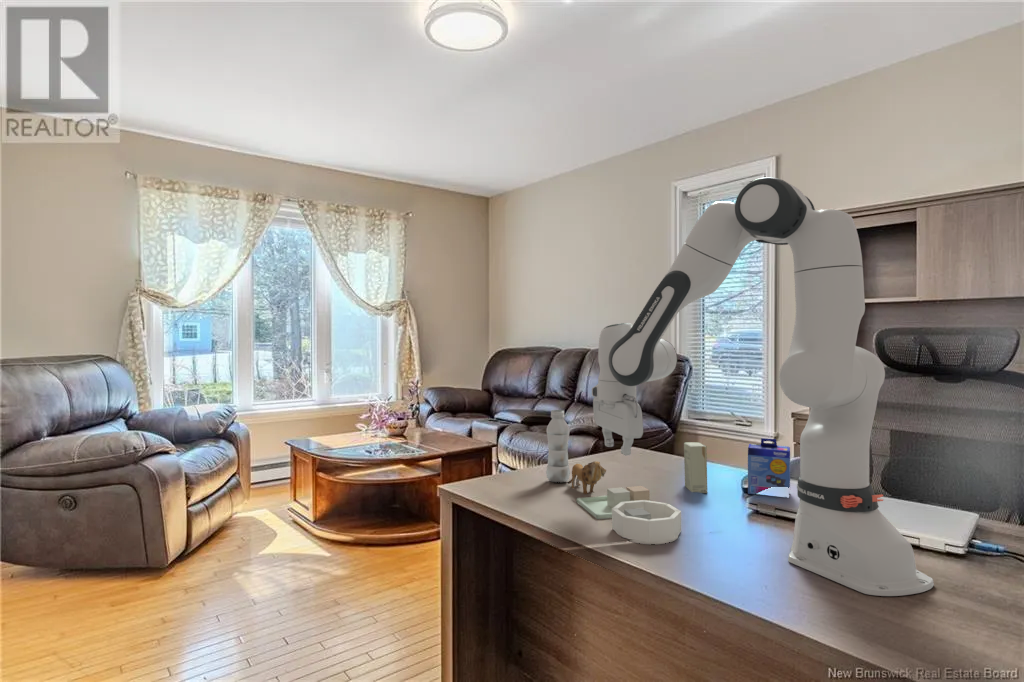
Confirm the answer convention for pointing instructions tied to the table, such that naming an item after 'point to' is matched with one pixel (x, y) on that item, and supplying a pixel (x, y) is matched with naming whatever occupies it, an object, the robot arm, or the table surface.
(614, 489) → the pale grey cube
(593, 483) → the lion figurine
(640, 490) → the tan cube
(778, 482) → the ink cartridge box
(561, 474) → the plastic bottle
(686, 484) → the skincare box
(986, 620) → the table surface
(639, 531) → the bowl
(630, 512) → the gray cube
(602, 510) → the tray
